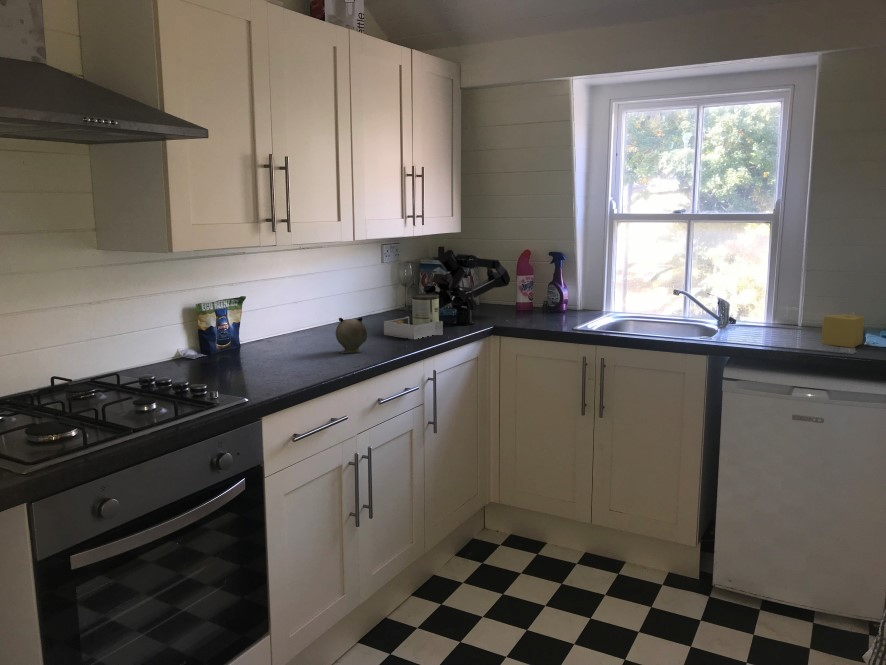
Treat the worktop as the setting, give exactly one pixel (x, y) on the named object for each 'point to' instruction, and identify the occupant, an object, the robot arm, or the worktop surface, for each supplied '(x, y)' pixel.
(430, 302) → the coffee can
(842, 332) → the cheese
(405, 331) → the grey bent block
